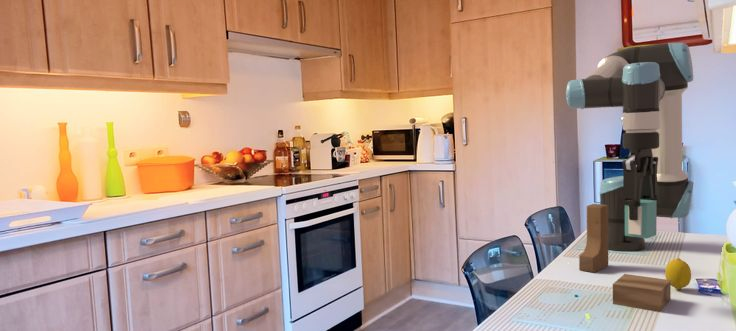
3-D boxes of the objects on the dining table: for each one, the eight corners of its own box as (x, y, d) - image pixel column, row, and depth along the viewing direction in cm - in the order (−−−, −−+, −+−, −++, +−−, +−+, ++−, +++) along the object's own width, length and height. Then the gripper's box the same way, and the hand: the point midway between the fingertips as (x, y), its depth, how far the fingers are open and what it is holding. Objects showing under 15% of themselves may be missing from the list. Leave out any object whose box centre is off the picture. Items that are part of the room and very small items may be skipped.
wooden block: (594, 273, 150) (593, 209, 149) (578, 270, 154) (578, 207, 152) (608, 266, 156) (608, 204, 155) (593, 264, 160) (593, 203, 158)
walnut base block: (624, 293, 133) (624, 273, 133) (670, 301, 127) (670, 280, 126) (612, 305, 125) (612, 284, 125) (660, 313, 119) (660, 291, 119)
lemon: (660, 288, 135) (660, 257, 134) (676, 285, 137) (676, 254, 136) (679, 294, 130) (680, 262, 129) (696, 291, 132) (696, 259, 131)
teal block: (634, 232, 129) (634, 198, 128) (656, 234, 125) (656, 200, 125) (624, 235, 126) (624, 201, 125) (647, 238, 122) (647, 203, 121)
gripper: (641, 130, 132) (640, 224, 134) (605, 133, 121) (606, 236, 122) (674, 129, 127) (673, 228, 128) (640, 132, 115) (640, 240, 117)
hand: (640, 231), depth 125 cm, fingers closed on teal block, 5 cm apart
